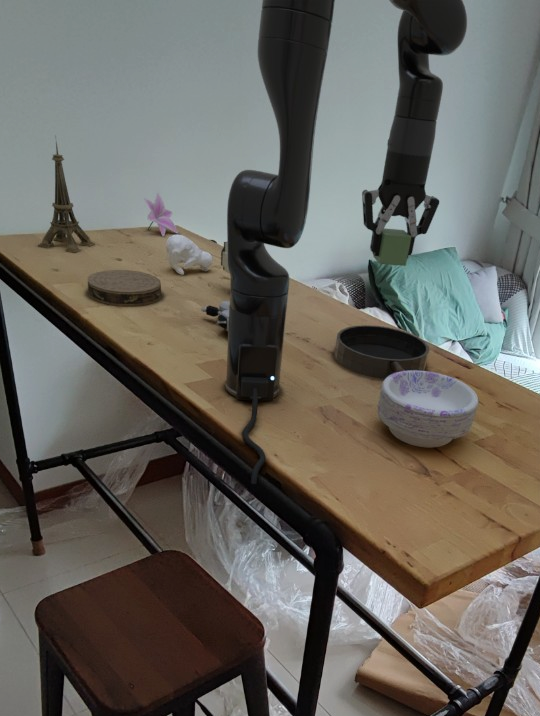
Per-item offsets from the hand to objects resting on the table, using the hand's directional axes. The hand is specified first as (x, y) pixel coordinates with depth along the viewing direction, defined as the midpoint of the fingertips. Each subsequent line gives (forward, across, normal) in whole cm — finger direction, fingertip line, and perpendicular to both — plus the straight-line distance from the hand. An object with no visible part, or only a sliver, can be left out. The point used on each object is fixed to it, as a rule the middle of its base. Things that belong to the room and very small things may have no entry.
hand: (390, 255), depth 119 cm
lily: (+19, -44, +89) cm, 101 cm away
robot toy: (+19, -26, +12) cm, 35 cm away
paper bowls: (+20, 0, -32) cm, 38 cm away
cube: (+1, 0, 0) cm, 1 cm away
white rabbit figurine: (+19, -36, +51) cm, 65 cm away
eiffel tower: (+19, -68, +68) cm, 98 cm away
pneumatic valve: (+19, -24, +34) cm, 47 cm away
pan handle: (+17, +1, -16) cm, 23 cm away
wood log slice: (+19, -50, +30) cm, 62 cm away
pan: (+19, +1, -2) cm, 19 cm away
